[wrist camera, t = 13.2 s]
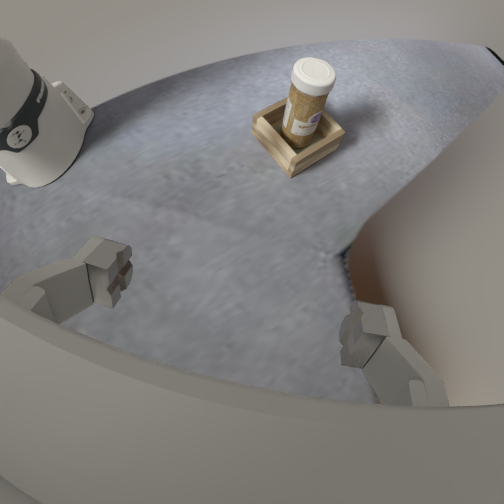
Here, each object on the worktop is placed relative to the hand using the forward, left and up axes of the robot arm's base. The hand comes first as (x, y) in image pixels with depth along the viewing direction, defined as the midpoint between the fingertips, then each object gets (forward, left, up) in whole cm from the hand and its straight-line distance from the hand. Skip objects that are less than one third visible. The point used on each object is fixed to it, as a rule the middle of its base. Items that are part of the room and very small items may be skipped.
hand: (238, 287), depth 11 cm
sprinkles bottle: (-14, +19, -25) cm, 35 cm away
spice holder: (-14, +19, -26) cm, 35 cm away
